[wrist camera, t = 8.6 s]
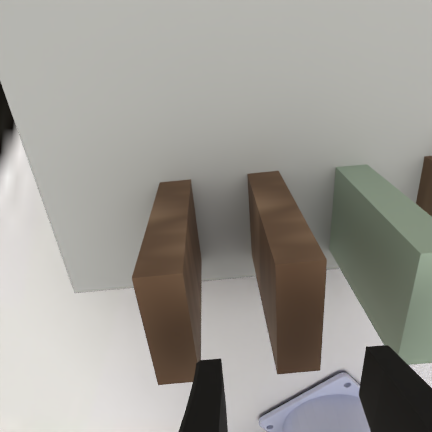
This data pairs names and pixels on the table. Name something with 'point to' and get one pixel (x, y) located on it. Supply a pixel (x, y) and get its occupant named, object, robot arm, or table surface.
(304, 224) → the domino
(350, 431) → the robot arm
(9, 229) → the table surface
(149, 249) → the domino
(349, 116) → the grey mat
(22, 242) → the table surface
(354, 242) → the sage domino
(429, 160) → the domino
